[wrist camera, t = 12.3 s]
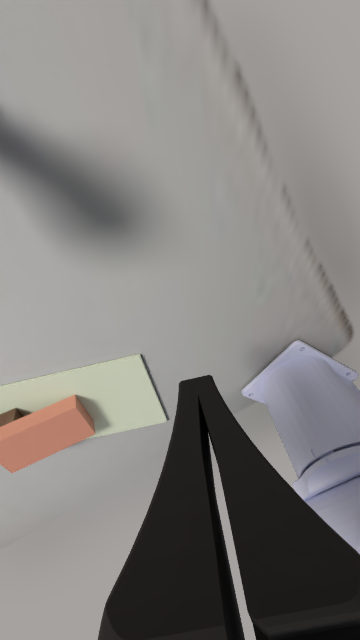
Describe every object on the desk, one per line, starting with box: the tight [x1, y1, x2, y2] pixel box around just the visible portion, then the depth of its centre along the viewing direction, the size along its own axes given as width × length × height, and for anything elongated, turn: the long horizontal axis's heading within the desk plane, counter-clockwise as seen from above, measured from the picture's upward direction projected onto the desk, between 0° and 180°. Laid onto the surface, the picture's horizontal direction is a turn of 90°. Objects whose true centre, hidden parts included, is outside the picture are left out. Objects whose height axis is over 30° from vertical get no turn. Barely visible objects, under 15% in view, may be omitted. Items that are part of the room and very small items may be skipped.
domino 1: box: [0, 395, 95, 473], centre depth 24 cm, size 2×4×8 cm
